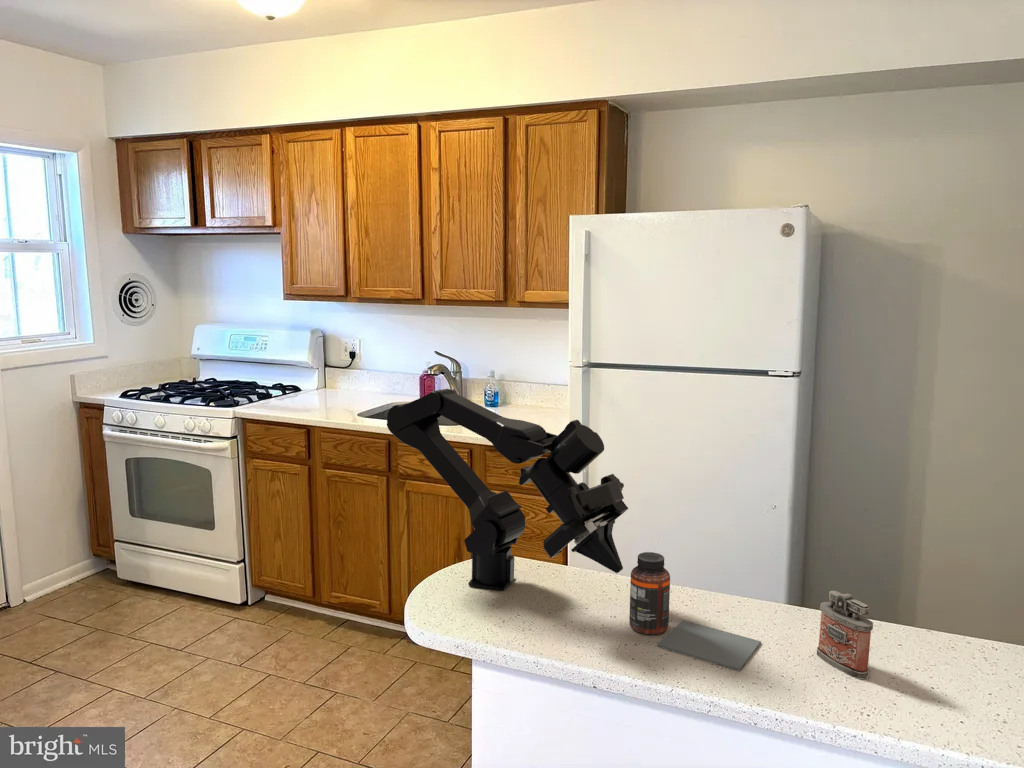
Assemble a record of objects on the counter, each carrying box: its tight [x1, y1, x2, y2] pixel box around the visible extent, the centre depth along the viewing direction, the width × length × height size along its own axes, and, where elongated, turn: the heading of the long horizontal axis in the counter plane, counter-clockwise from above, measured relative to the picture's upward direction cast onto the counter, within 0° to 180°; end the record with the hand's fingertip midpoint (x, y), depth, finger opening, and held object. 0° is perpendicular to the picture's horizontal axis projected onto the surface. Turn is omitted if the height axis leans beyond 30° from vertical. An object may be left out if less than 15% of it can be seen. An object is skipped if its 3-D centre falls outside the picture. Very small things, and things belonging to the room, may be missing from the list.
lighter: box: [816, 590, 874, 679], centre depth 105 cm, size 8×3×10 cm, turn 23°
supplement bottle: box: [628, 551, 671, 635], centre depth 115 cm, size 6×6×11 cm
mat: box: [656, 619, 762, 672], centre depth 110 cm, size 12×10×1 cm
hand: (620, 571), depth 117 cm, fingers closed
